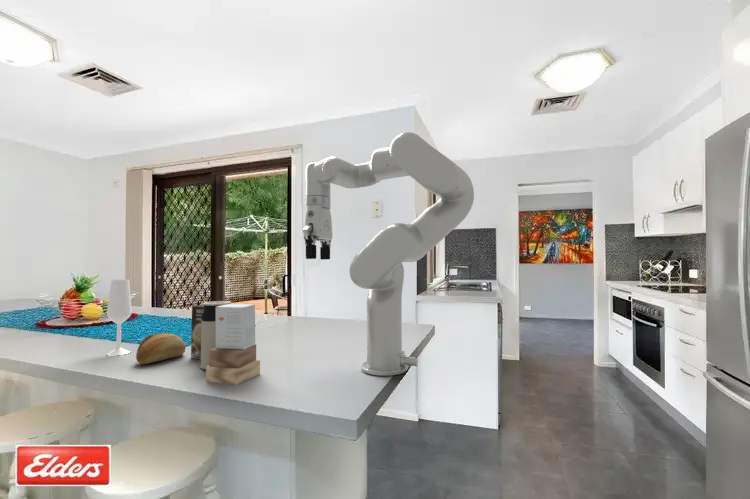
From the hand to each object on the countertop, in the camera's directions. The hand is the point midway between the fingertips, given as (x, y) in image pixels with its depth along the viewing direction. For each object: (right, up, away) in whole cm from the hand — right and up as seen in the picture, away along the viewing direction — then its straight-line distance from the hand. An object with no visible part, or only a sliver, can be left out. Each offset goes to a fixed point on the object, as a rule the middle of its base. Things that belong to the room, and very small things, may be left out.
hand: (318, 259), depth 108 cm
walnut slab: (-19, -26, -18) cm, 37 cm away
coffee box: (-34, -31, +2) cm, 46 cm away
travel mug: (-27, -30, -9) cm, 42 cm away
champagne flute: (-66, -31, +7) cm, 74 cm away
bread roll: (-48, -31, -1) cm, 57 cm away
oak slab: (-19, -30, -19) cm, 40 cm away
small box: (-18, -22, -18) cm, 34 cm away
